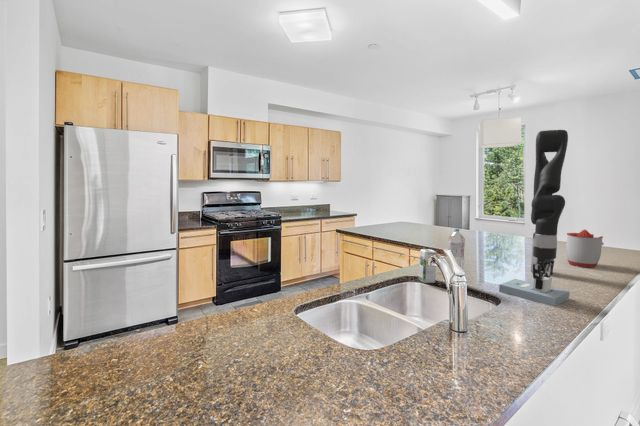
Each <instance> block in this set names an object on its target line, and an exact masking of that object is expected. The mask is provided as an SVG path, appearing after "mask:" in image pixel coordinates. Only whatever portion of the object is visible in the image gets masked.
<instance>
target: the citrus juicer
mask: <svg viewBox="0 0 640 426" xmlns="http://www.w3.org/2000/svg"><path fill="white" fill-rule="evenodd" d="M603 238H604V236H598V237H594V234H593V233H590V232H589V231H588V230H587V229H583V230H581V231H580V232H567V233H566V246H565V253H566V258H567V259H566V260H567V262H568V264H569V265H571V266H574V267H575V266H576V267H579V268H596V267H597V265H598V264H599V261H600V259H601V256H602V248H603V247H602V246H604V242H603Z"/></svg>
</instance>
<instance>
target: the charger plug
mask: <svg viewBox="0 0 640 426" xmlns="http://www.w3.org/2000/svg"><path fill="white" fill-rule="evenodd" d="M552 280H553V279H552V277H550V278H548V277H543V287H542V289H541V290H539V289H536V288H535V285H536V279H535V278H533V282H532V283H533V290H536V291H540V292H544V293H549V292H551V287H552Z"/></svg>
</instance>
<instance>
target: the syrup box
mask: <svg viewBox="0 0 640 426" xmlns="http://www.w3.org/2000/svg"><path fill="white" fill-rule="evenodd" d="M437 253H438V251H435V250H433V249H430V248H423V249H422V248H421V249H420V251H419V269H418V270H419V271H418V280H419V281H420V282H422V283H423V284H433V283H436V274H437V273H436V272H437V265H436V266H429V265H428V264H427V260H428V259H429V258H430V257H431V256H434V255H438V254H437Z"/></svg>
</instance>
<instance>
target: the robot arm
mask: <svg viewBox="0 0 640 426" xmlns="http://www.w3.org/2000/svg"><path fill="white" fill-rule="evenodd" d="M568 133H569V132H568V131H567V130H565V129H548V130H541V131H538V133H537V135H536V137H535V167H534V169H535V170H534V176H533V177H534V178H533V198H532V200H531V212H530V221H531V223H532V225H535V232H533V235H532V248H531V249H532V250H531V261H530V262H531V264H530V272H531V273H532V279H534V278H535V279H536V285H535V288H536V289H539V290H541V289H542V287H543V277H548V278H551V277H552V276H553V274H554V265H555V259H556V258H557V252H558V251H557V249H558V248H557V247H558V227H559V226H558V225H559V221H560V217H561V216H562V213H563V211H564V209H565V206H566V199H565V197H564V196H562V195H560V194H556V193H558V192H559V191H561V190H560V189H561V184H562V182H561V180H562V170H563V167H564V163H565V158H566V153H567V149H568V142H569V134H568ZM546 153H556V154H555V155H554V157H552V159H551V160H550V161H548V159H547V156H546Z"/></svg>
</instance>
